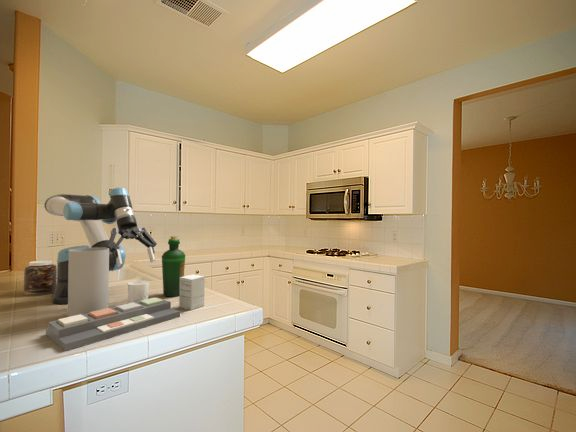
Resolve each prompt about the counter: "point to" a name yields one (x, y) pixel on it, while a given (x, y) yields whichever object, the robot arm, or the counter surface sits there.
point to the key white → (72, 320)
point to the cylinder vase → (88, 280)
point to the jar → (40, 278)
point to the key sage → (151, 301)
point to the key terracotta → (102, 313)
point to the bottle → (172, 268)
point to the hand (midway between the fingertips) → (137, 263)
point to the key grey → (128, 307)
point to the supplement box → (191, 292)
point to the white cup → (138, 291)
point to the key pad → (109, 325)
